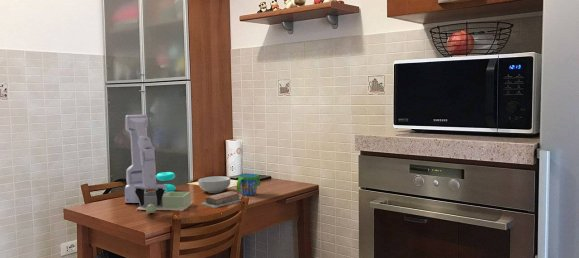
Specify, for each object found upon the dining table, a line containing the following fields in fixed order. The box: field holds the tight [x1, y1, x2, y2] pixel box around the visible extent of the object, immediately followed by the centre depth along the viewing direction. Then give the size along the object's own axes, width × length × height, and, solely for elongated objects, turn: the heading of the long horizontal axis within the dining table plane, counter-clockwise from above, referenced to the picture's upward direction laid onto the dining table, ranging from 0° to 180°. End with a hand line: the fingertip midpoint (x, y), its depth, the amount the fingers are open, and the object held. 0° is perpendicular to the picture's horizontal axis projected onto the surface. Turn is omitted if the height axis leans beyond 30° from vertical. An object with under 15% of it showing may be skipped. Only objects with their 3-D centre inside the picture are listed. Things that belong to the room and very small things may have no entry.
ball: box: [145, 204, 157, 214], centre depth 221 cm, size 4×4×4 cm
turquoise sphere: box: [156, 171, 177, 193], centre depth 267 cm, size 10×10×10 cm
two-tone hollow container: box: [136, 191, 193, 212], centre depth 233 cm, size 22×14×6 cm, turn 84°
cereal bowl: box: [197, 175, 231, 194], centre depth 264 cm, size 17×17×7 cm
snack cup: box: [236, 173, 261, 197], centre depth 255 cm, size 16×10×10 cm
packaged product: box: [200, 190, 242, 209], centre depth 238 cm, size 18×5×10 cm
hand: (150, 205), depth 221 cm, fingers open, 7 cm apart
